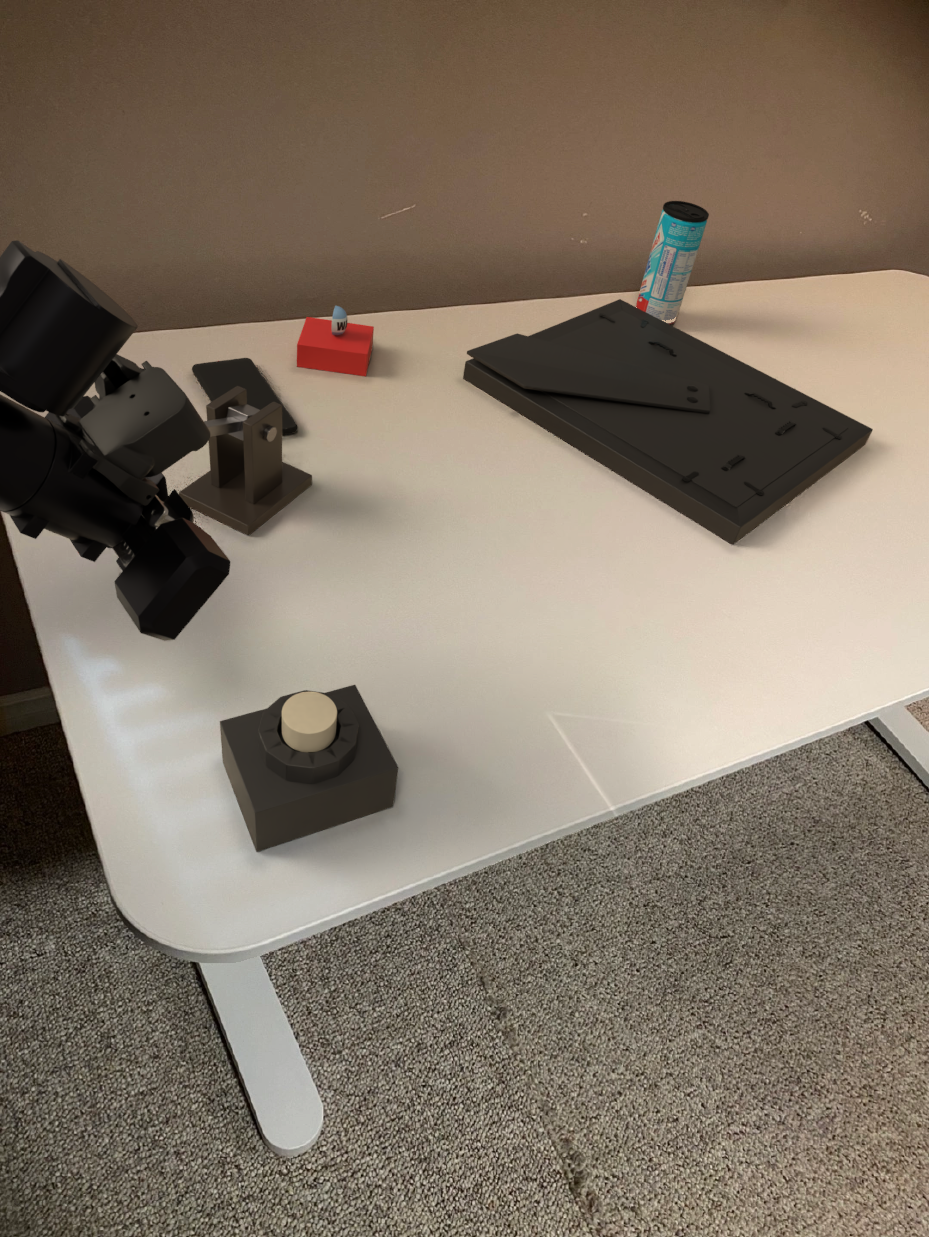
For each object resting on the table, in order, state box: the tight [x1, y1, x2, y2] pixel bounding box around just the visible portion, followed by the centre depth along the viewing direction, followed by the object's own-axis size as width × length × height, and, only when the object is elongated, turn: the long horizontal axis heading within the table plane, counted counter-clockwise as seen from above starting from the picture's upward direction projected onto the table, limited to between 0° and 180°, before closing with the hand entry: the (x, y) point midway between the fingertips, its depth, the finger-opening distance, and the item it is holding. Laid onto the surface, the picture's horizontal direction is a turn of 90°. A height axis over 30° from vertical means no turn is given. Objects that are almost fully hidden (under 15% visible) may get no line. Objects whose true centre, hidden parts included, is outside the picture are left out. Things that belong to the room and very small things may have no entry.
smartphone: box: [191, 357, 299, 436], centre depth 100 cm, size 7×1×15 cm
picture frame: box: [462, 298, 874, 545], centre depth 110 cm, size 31×4×38 cm
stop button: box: [282, 691, 337, 753], centre depth 62 cm, size 4×4×2 cm
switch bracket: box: [178, 386, 313, 536], centre depth 86 cm, size 10×8×10 cm
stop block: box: [219, 684, 399, 853], centre depth 65 cm, size 10×8×6 cm
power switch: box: [203, 405, 260, 441], centre depth 80 cm, size 13×3×3 cm, turn 151°
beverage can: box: [635, 200, 710, 326], centre depth 124 cm, size 6×6×15 cm
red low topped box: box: [296, 305, 375, 377], centre depth 108 cm, size 8×7×6 cm
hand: (216, 554), depth 64 cm, fingers closed
